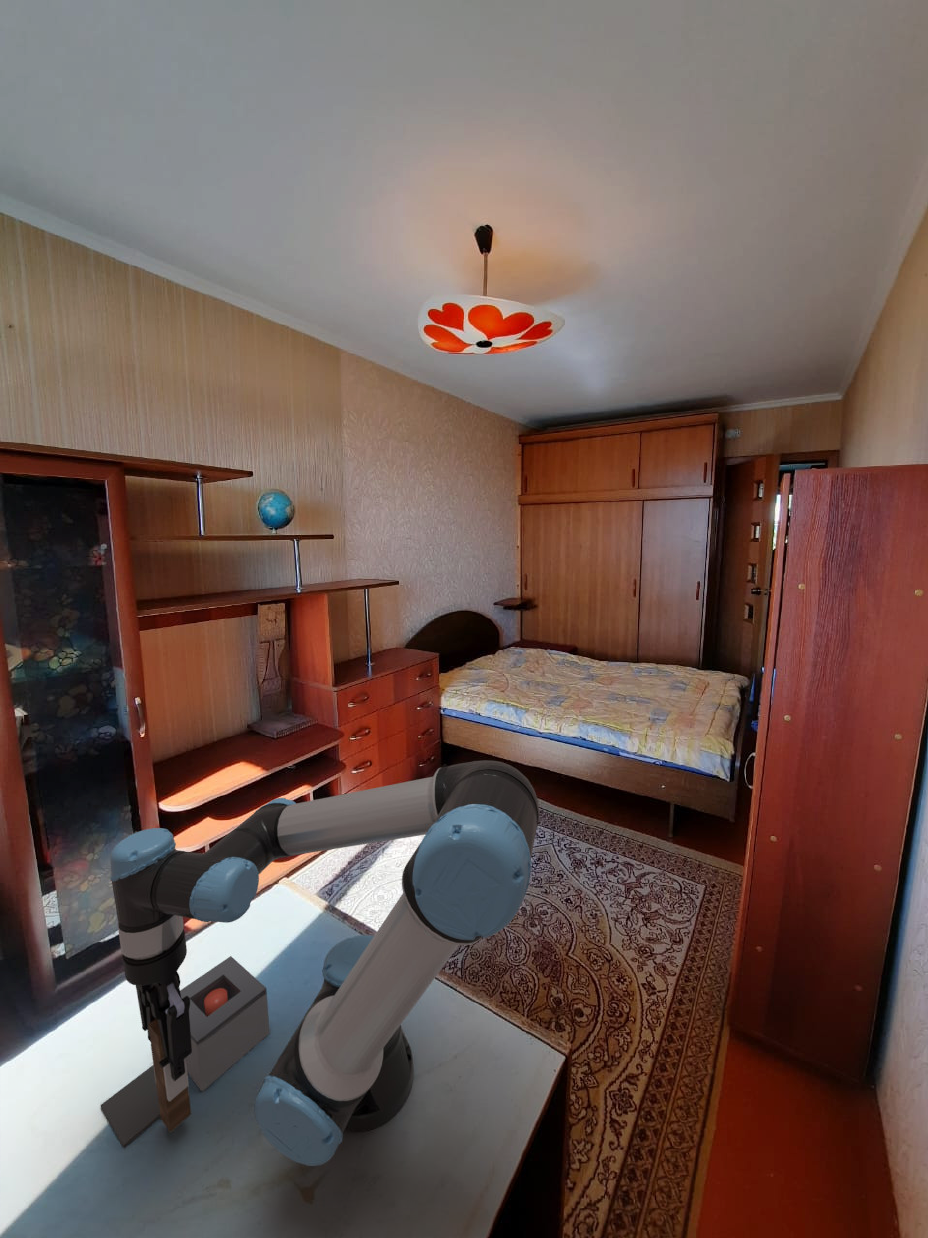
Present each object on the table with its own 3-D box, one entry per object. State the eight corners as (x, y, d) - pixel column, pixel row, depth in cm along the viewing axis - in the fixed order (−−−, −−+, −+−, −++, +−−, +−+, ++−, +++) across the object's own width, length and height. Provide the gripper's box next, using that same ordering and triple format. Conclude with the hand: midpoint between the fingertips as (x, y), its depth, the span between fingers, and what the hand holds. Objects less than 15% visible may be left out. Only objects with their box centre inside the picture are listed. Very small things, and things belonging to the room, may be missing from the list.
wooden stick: (191, 1113, 74) (179, 1019, 72) (170, 1133, 72) (157, 1036, 70) (182, 1101, 76) (170, 1008, 74) (160, 1119, 73) (148, 1024, 71)
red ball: (233, 1017, 87) (231, 995, 87) (212, 1033, 85) (210, 1010, 84) (222, 1006, 90) (220, 985, 89) (202, 1021, 87) (200, 999, 86)
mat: (187, 1094, 79) (187, 1091, 79) (123, 1149, 72) (123, 1145, 72) (162, 1060, 84) (162, 1057, 84) (100, 1108, 77) (100, 1105, 77)
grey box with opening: (269, 1033, 89) (266, 988, 88) (202, 1092, 79) (197, 1042, 78) (234, 998, 96) (230, 956, 95) (168, 1048, 86) (163, 1002, 85)
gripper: (208, 948, 68) (225, 1095, 71) (158, 902, 78) (174, 1034, 81) (149, 987, 62) (169, 1146, 65) (101, 932, 72) (121, 1073, 75)
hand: (172, 1084), depth 73 cm, fingers closed on wooden stick, 3 cm apart
